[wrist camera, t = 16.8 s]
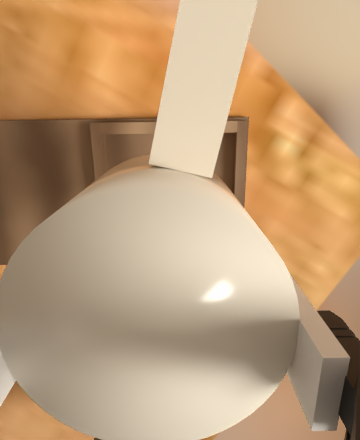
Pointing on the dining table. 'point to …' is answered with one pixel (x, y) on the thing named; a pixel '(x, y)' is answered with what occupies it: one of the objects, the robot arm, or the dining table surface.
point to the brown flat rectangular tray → (83, 165)
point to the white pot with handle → (157, 272)
